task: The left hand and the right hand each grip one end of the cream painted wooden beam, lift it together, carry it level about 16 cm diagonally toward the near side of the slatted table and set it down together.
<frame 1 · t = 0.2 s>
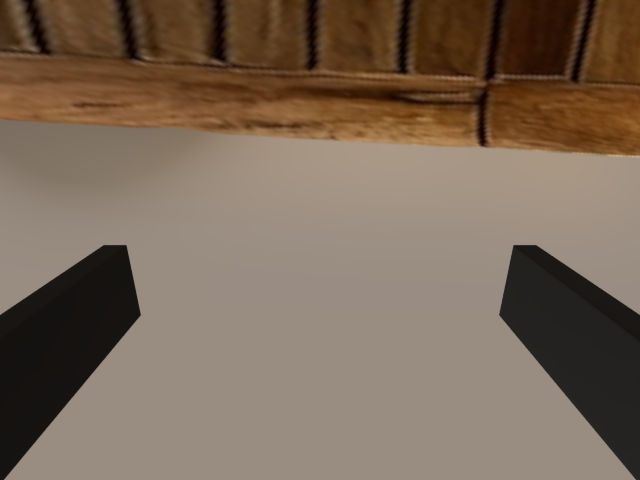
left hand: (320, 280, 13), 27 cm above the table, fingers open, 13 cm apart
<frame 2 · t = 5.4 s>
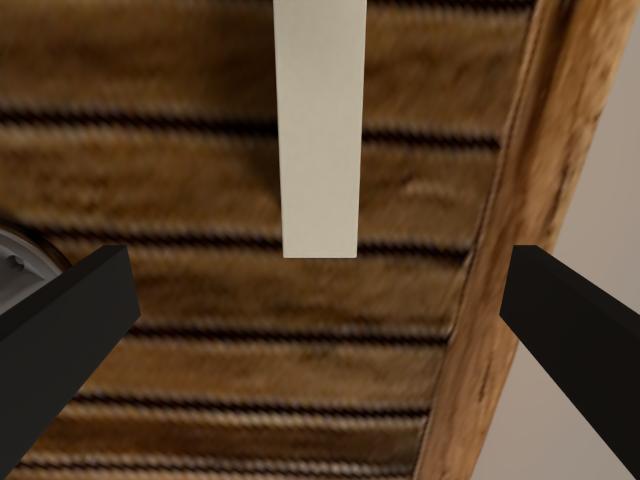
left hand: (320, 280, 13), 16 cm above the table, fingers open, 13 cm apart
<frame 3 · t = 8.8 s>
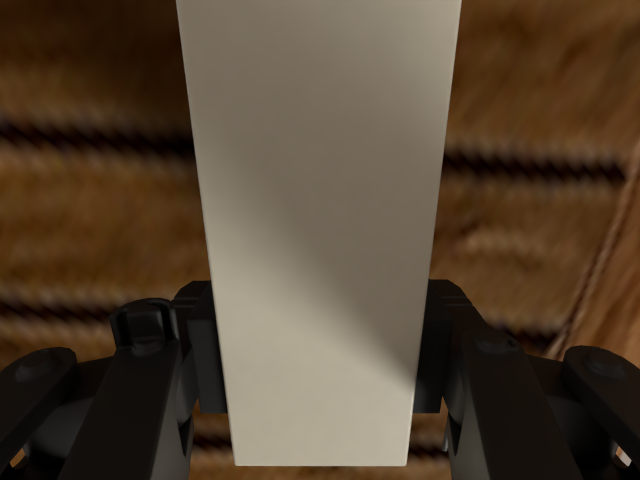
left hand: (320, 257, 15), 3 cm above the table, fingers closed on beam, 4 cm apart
when the left hand's fingers open (1 cm above the table, at t = 14.1 s): beam stays where it is, on the table.
when the right hand's fingers open (3 cm above the table, at t = 14.2 s): beam stays where it is, on the table.
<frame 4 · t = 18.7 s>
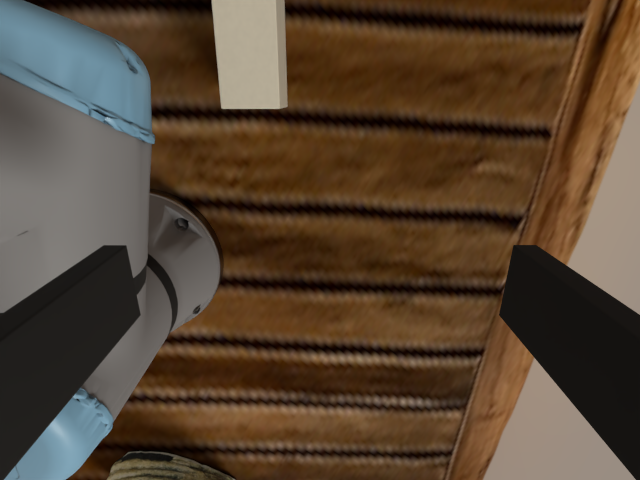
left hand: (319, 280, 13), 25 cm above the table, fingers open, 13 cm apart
fossil: (186, 474, 51), on the table
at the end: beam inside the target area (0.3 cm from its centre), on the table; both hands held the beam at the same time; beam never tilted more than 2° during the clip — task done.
